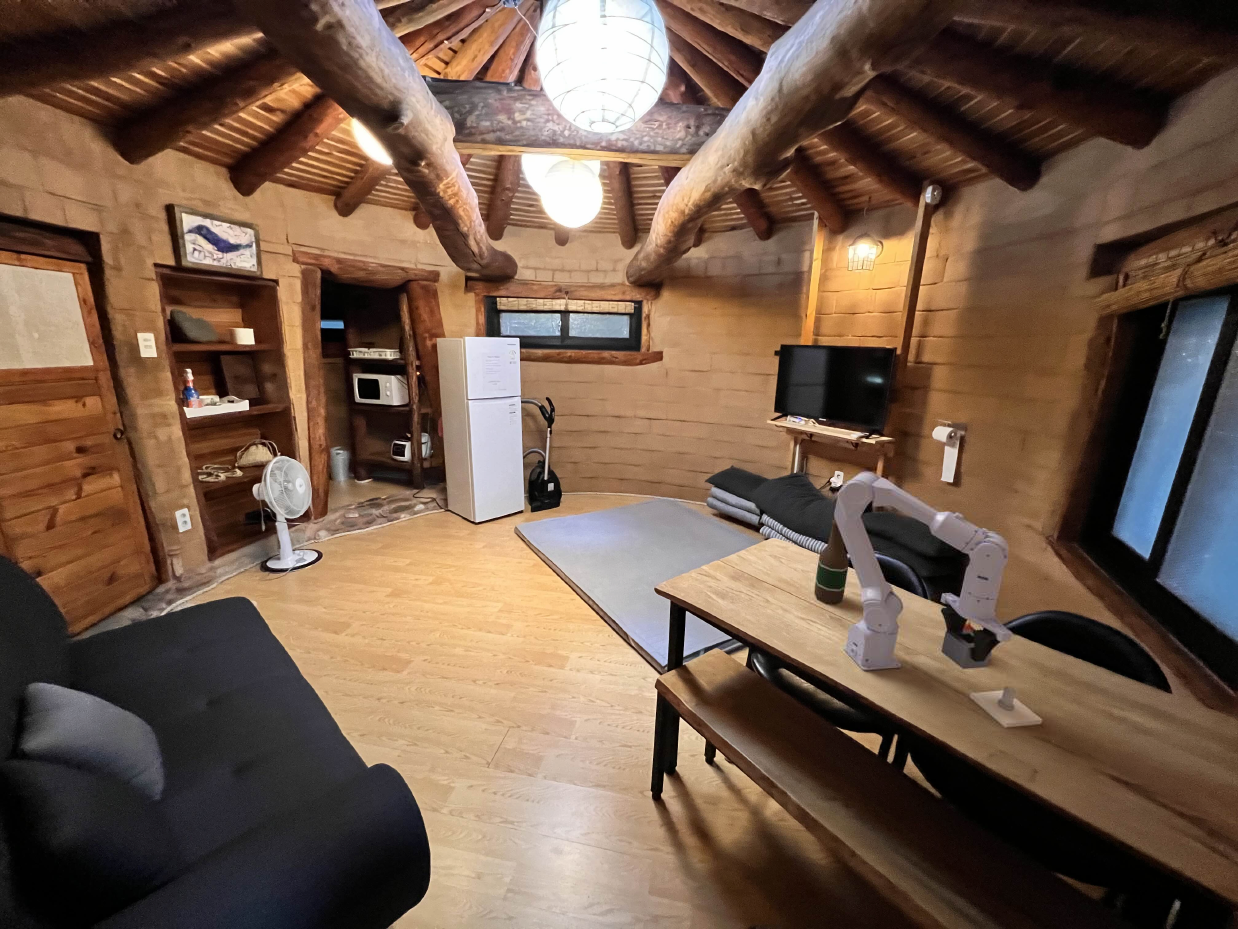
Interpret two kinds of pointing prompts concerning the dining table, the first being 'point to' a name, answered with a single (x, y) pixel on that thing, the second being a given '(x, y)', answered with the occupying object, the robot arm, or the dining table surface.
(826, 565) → the beer bottle
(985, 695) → the post block
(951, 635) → the collar
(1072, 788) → the dining table surface
